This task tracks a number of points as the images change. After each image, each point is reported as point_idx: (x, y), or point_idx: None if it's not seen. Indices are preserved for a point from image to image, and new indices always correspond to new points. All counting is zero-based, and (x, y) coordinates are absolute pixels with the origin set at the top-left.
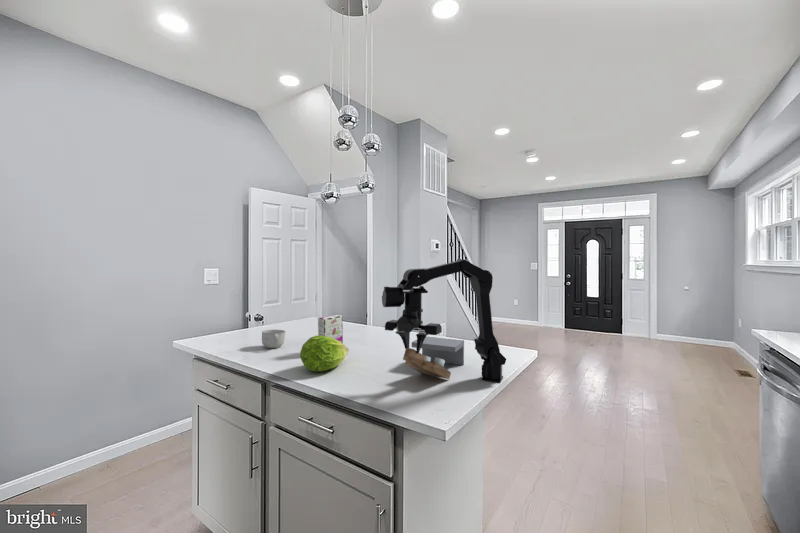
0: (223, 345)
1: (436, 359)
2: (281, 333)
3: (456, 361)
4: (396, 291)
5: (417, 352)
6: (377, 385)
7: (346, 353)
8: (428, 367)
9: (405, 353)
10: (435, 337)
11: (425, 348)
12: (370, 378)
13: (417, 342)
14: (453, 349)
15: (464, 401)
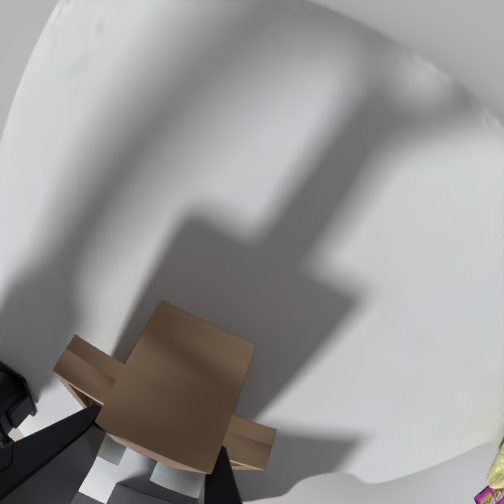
0: None
1: (101, 447)
2: None
3: (133, 497)
4: None
5: (92, 407)
6: (405, 278)
7: (496, 467)
8: (102, 361)
9: (221, 403)
10: None
11: None
12: (437, 354)
13: (21, 471)
14: (79, 501)
15: (13, 178)
